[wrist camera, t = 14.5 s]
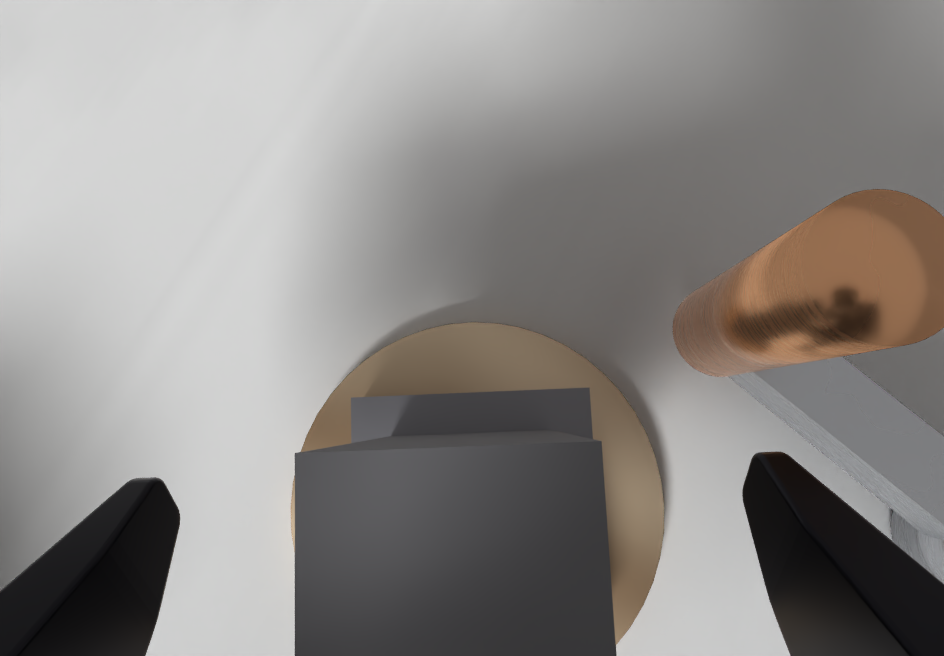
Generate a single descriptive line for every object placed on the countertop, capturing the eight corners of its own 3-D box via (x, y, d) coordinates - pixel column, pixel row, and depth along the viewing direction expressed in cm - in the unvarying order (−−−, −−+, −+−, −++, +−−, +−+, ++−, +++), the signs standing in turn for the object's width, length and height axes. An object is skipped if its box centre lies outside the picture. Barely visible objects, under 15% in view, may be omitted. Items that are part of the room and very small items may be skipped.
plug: (596, 621, 16) (717, 871, 7) (366, 628, 16) (212, 879, 8) (581, 389, 17) (673, 360, 8) (363, 399, 17) (221, 380, 8)
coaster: (614, 744, 16) (618, 756, 16) (253, 638, 17) (244, 646, 16) (692, 373, 18) (698, 372, 17) (353, 289, 18) (348, 284, 18)
